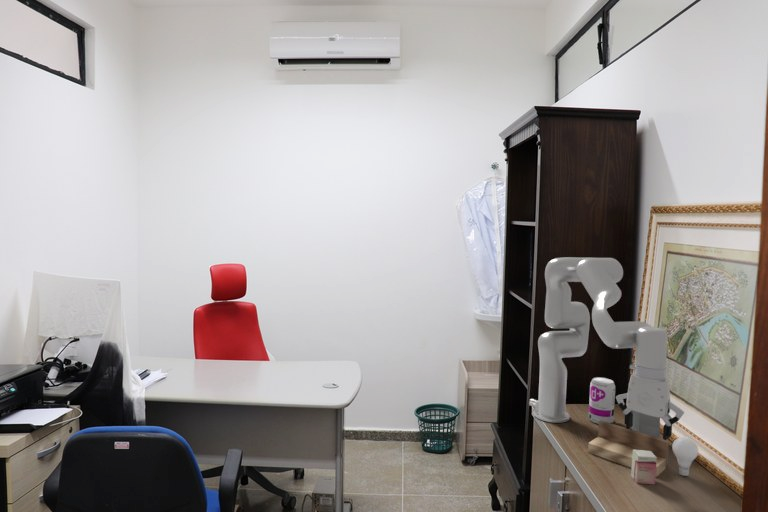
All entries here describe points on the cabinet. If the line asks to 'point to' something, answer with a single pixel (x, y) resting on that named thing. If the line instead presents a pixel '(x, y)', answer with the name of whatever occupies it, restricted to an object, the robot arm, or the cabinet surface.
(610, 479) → the cabinet surface
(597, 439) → the board
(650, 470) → the small box
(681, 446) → the lightbulb
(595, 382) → the supplement can
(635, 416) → the skincare box
